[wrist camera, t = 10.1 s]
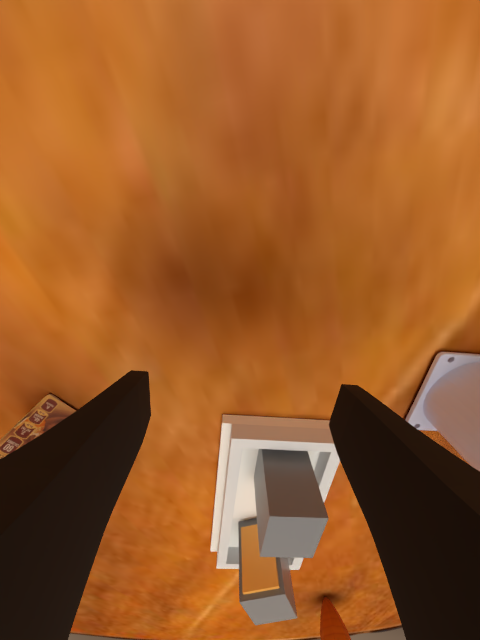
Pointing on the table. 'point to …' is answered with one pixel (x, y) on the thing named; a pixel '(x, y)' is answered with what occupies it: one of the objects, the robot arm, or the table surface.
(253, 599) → the grey block orange top
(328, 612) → the carrot
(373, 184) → the table surface
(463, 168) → the table surface
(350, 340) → the table surface
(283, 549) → the grey toy block
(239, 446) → the white tray
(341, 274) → the table surface
